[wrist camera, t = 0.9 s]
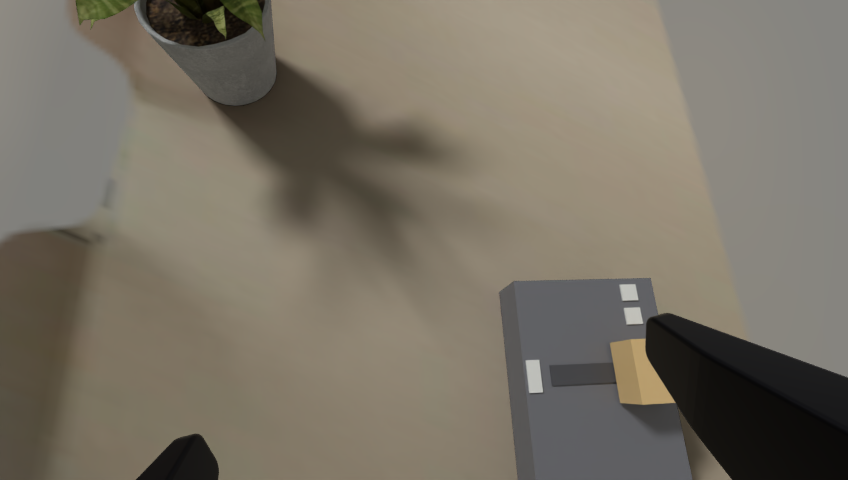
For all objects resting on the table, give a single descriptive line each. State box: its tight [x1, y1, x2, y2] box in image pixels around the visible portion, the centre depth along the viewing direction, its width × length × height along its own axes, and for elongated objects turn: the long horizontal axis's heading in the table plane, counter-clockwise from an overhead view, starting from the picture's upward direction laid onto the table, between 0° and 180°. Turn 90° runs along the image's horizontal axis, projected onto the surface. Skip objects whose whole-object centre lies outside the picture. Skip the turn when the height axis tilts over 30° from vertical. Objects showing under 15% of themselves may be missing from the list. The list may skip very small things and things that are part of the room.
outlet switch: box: [610, 339, 675, 405], centre depth 22 cm, size 3×2×2 cm
